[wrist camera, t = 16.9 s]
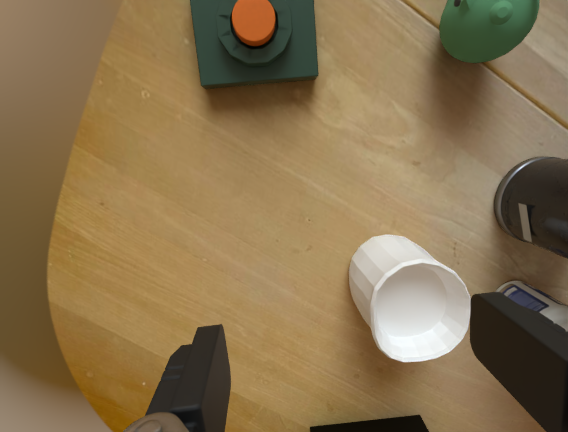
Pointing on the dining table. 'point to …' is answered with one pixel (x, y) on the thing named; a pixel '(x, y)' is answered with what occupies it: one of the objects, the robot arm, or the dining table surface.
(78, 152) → the dining table surface
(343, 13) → the dining table surface
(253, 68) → the button box
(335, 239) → the dining table surface
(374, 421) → the console
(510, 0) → the alien toy
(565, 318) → the pill bottle
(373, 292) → the cup
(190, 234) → the dining table surface
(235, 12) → the button
